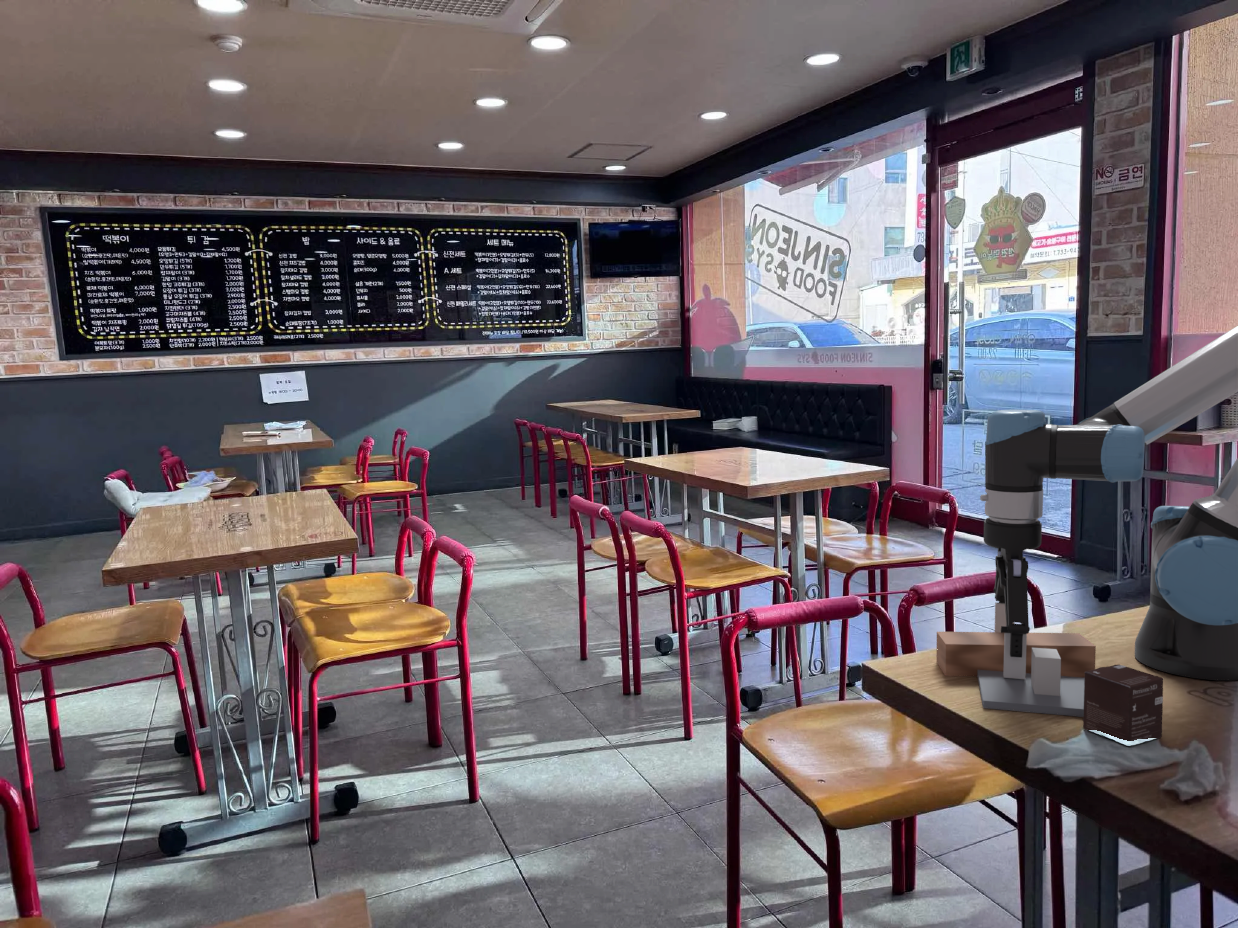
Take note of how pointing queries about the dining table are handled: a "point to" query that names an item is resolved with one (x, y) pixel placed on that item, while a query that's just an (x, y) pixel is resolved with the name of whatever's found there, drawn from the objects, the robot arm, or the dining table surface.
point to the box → (1123, 702)
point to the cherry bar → (987, 652)
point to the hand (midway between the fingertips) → (1008, 662)
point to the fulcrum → (1034, 688)
